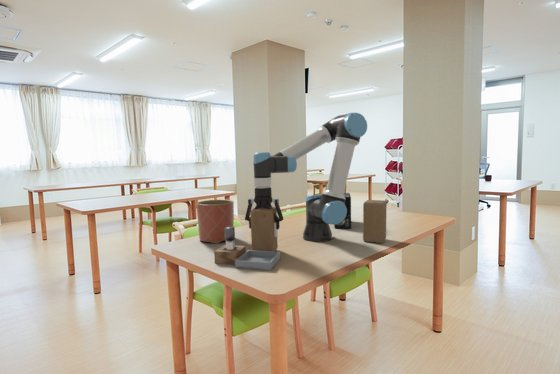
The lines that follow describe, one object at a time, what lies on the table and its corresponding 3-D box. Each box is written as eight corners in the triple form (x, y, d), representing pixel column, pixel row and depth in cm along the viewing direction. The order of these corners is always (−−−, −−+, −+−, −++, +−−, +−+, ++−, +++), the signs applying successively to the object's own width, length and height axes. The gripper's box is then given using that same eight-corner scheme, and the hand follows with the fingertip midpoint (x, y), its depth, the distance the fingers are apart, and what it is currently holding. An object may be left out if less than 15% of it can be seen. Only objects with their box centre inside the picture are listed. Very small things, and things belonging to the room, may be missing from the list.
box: (334, 220, 218) (334, 192, 216) (349, 221, 217) (349, 192, 215) (334, 228, 196) (333, 196, 194) (351, 229, 194) (351, 196, 192)
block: (386, 239, 170) (386, 200, 168) (383, 244, 161) (384, 203, 159) (366, 237, 174) (366, 199, 172) (362, 242, 165) (362, 202, 163)
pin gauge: (237, 258, 143) (236, 226, 141) (233, 261, 139) (232, 229, 137) (228, 258, 144) (226, 226, 142) (224, 261, 140) (222, 228, 138)
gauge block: (245, 257, 145) (245, 245, 144) (237, 264, 135) (236, 252, 135) (224, 255, 147) (224, 244, 147) (214, 263, 138) (214, 251, 137)
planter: (217, 246, 163) (216, 205, 161) (190, 241, 173) (188, 203, 171) (242, 237, 179) (240, 200, 177) (215, 233, 189) (214, 198, 187)
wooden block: (273, 255, 145) (271, 210, 143) (251, 254, 147) (249, 210, 145) (278, 248, 155) (276, 206, 153) (257, 248, 157) (255, 206, 155)
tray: (280, 258, 142) (280, 251, 142) (270, 270, 128) (270, 262, 127) (248, 256, 145) (247, 249, 145) (235, 267, 131) (235, 260, 131)
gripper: (289, 186, 149) (290, 234, 151) (242, 186, 155) (243, 233, 157) (285, 188, 142) (287, 238, 144) (235, 188, 147) (238, 237, 150)
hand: (264, 235), depth 150 cm, fingers closed on wooden block, 10 cm apart
